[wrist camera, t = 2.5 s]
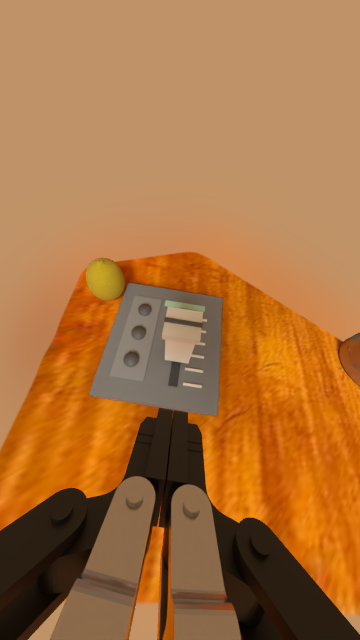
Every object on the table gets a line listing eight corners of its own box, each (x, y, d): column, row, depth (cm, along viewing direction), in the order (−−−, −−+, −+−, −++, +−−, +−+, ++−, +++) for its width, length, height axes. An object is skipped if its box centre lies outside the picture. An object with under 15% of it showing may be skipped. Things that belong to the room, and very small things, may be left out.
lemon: (112, 279, 36) (101, 242, 30) (134, 295, 35) (128, 260, 28) (87, 297, 34) (69, 261, 27) (110, 315, 32) (97, 282, 26)
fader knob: (193, 342, 28) (204, 310, 21) (190, 366, 27) (201, 340, 19) (166, 338, 28) (167, 304, 21) (161, 361, 27) (161, 333, 19)
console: (219, 304, 35) (223, 295, 33) (214, 416, 26) (219, 414, 24) (129, 290, 35) (127, 280, 33) (93, 396, 26) (87, 393, 24)
